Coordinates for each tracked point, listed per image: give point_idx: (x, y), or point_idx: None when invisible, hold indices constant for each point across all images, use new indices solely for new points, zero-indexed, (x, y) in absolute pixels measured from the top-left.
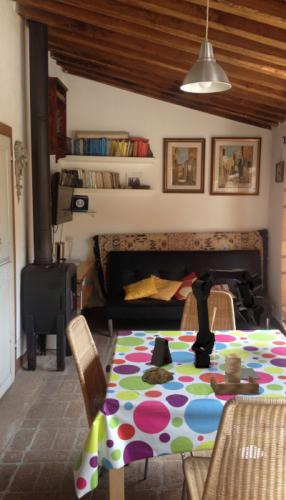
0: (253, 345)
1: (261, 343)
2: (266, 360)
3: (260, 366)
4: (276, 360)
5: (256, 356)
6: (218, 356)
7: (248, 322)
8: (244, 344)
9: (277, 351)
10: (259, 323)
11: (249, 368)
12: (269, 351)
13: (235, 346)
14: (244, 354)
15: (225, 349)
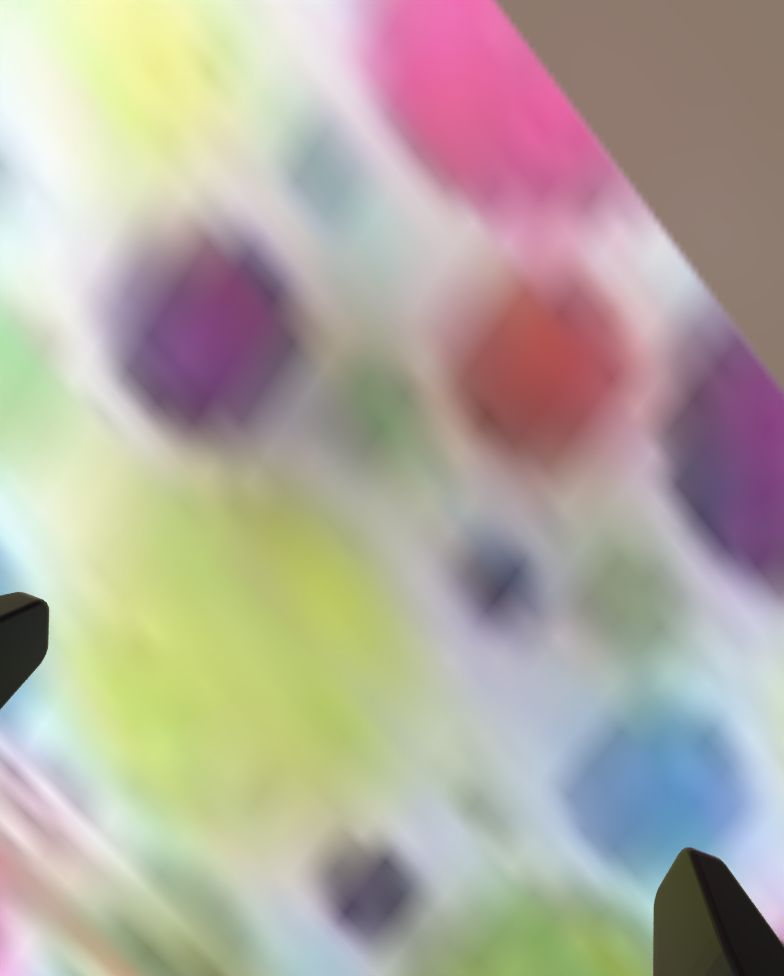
0: (142, 198)
1: (141, 24)
2: (645, 539)
3: (736, 768)
4: (728, 431)
5: (467, 523)
6: (204, 884)
7: (48, 622)
8: (49, 272)
9: (504, 113)
10: (776, 957)
11: None
12: (438, 213)
13: (47, 439)
14: (328, 587)
15: (66, 632)
